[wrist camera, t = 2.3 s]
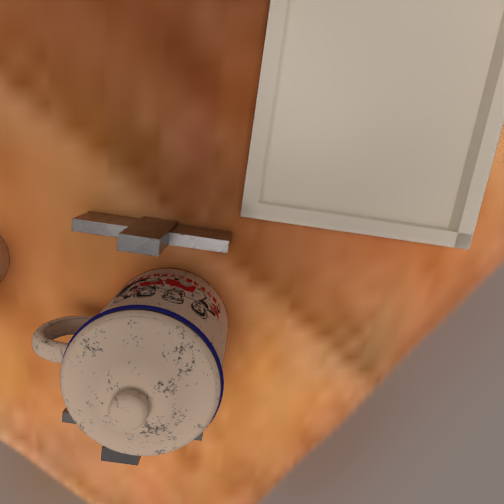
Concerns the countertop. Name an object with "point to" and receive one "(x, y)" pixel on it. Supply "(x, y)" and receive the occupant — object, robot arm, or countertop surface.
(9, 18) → the countertop surface
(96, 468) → the countertop surface
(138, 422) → the teacup with lid
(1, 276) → the jar
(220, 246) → the clip cradle
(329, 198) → the tray
